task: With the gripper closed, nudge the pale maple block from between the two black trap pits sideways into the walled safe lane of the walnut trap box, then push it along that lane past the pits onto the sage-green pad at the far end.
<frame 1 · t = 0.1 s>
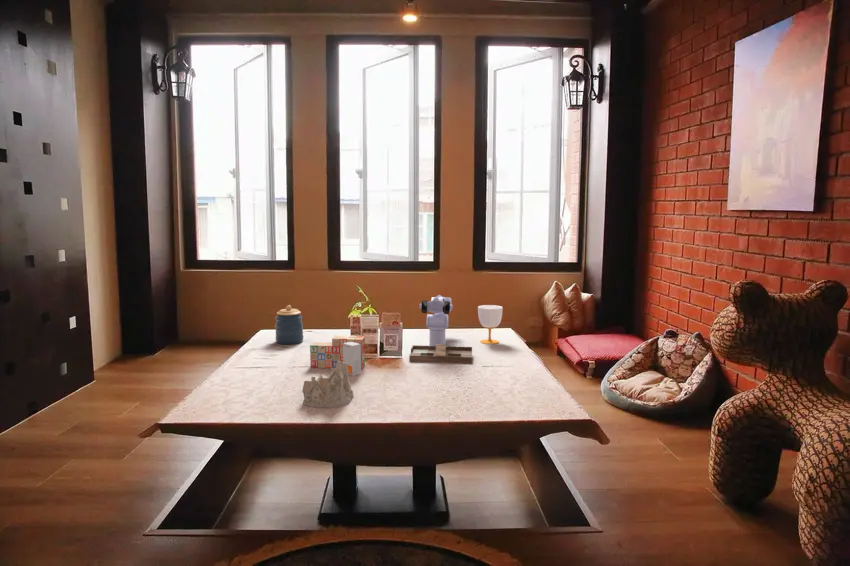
hand: (434, 308, 257), 22 cm above the table, fingers open, 7 cm apart
skincare box: (352, 374, 237), on the table
ceramic cottage: (329, 400, 205), on the table
cup: (489, 342, 291), on the table
trap box: (441, 358, 260), on the table
canister: (289, 342, 290), on the table
stack of blocks: (337, 366, 247), on the table
maple block: (440, 354, 256), point 2 cm above the table, touching trap box
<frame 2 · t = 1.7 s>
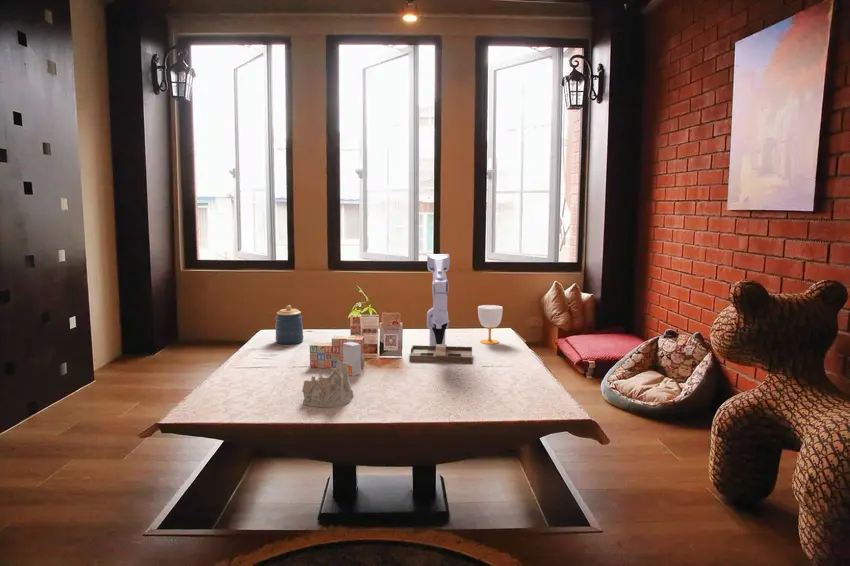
hand: (439, 342, 249), 9 cm above the table, fingers open, 6 cm apart
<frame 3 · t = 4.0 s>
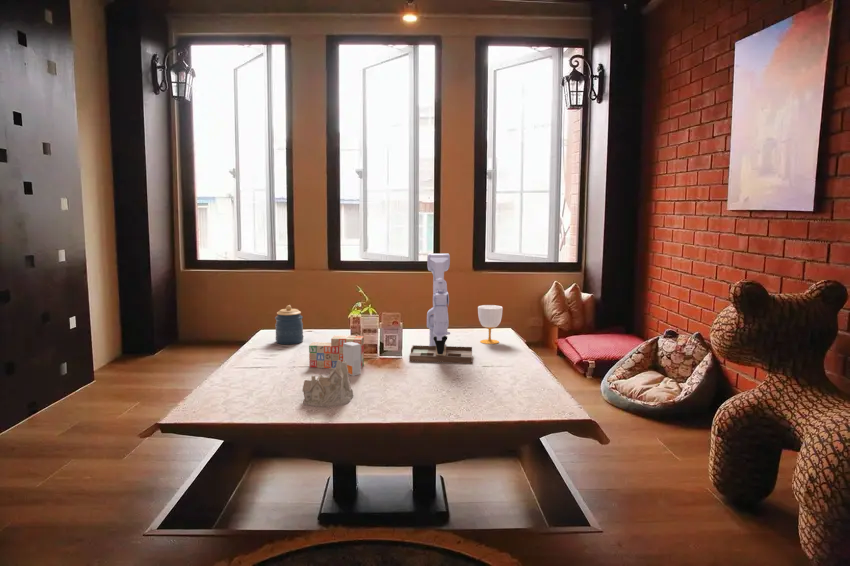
hand: (440, 353, 253), 4 cm above the table, fingers closed
maple block: (440, 354, 257), point 3 cm above the table, touching gripper, trap box
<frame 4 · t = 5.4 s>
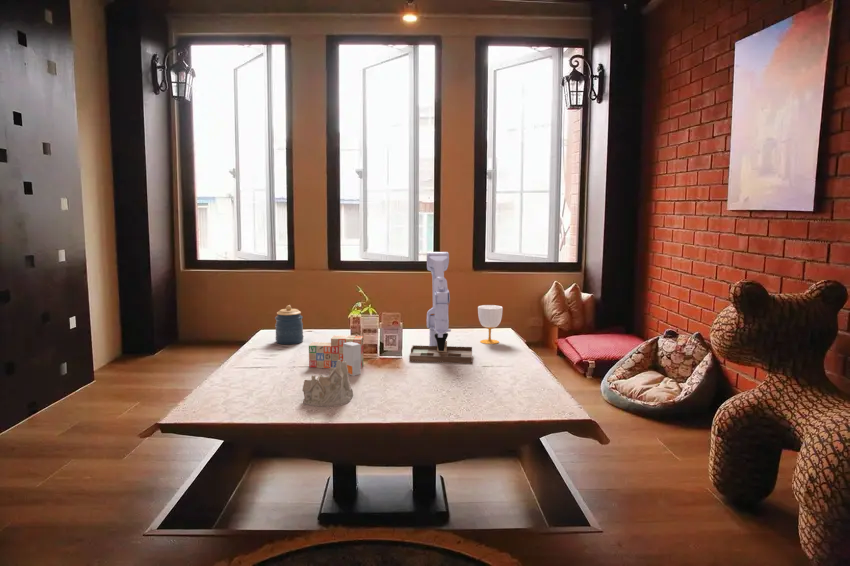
hand: (441, 350, 259), 4 cm above the table, fingers closed
maple block: (442, 350, 263), point 3 cm above the table, touching gripper, trap box
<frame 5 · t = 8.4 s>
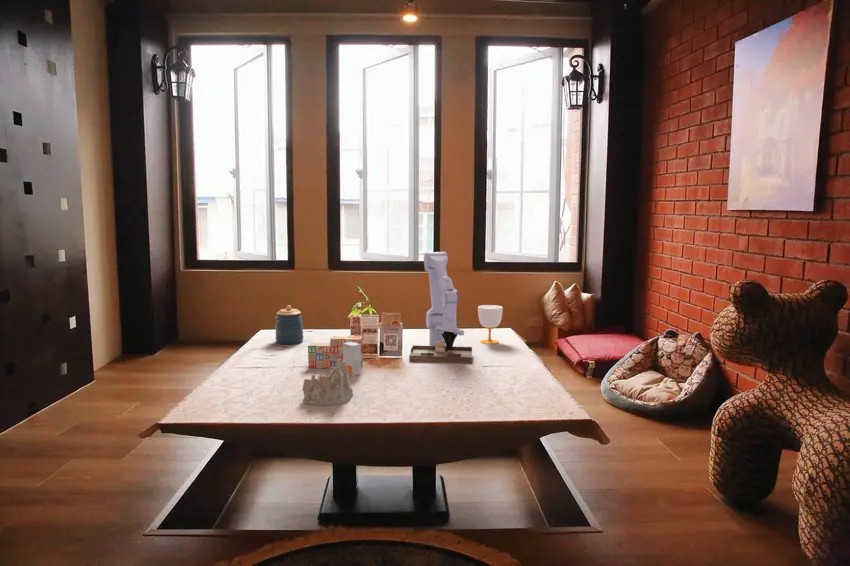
hand: (449, 349, 261), 4 cm above the table, fingers closed
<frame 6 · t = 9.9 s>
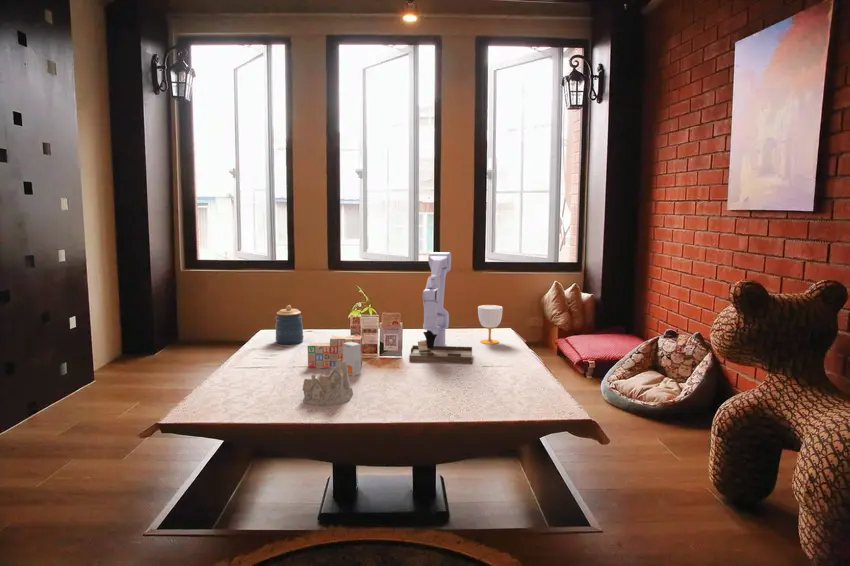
hand: (430, 348, 261), 4 cm above the table, fingers closed, pressing on maple block
maple block: (424, 349, 263), point 3 cm above the table, tilted 11°, touching gripper, trap box
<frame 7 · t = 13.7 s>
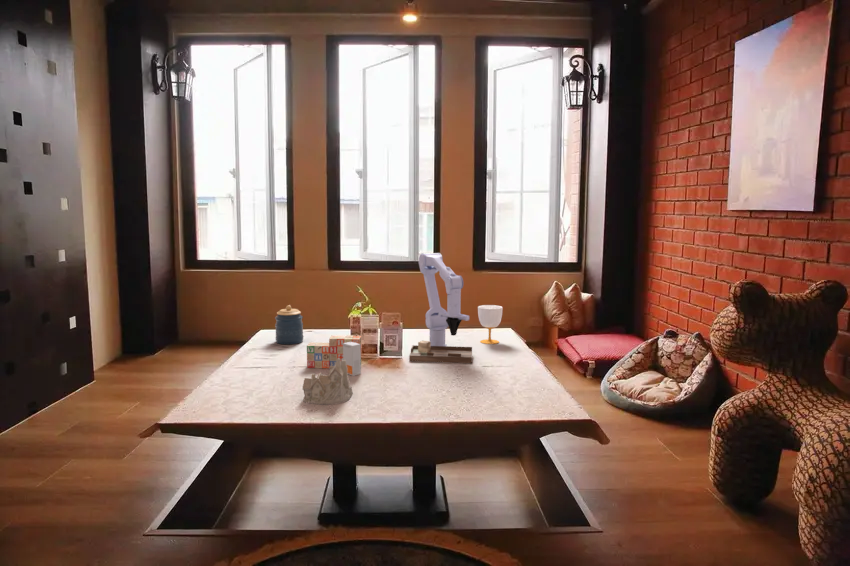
hand: (453, 335, 262), 9 cm above the table, fingers closed
maple block: (424, 350, 263), point 2 cm above the table, touching trap box
at the end: maple block 1.5 cm from the target spot, point 2.5 cm above the table; maple block tilted 0° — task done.
